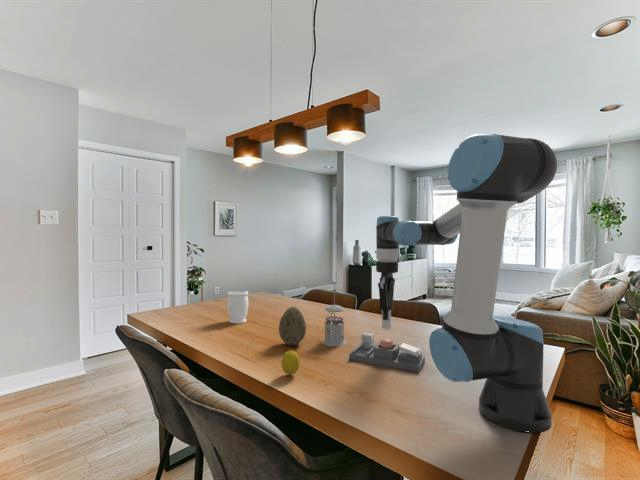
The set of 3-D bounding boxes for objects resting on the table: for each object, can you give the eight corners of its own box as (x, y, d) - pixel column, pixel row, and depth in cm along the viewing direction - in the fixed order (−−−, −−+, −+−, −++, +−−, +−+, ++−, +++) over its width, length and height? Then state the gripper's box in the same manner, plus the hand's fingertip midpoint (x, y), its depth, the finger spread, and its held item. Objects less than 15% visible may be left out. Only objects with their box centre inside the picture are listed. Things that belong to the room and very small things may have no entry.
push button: (391, 352, 111) (391, 343, 111) (378, 349, 113) (378, 341, 113) (394, 348, 115) (394, 339, 115) (382, 346, 117) (382, 337, 117)
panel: (419, 372, 104) (419, 356, 104) (349, 359, 115) (349, 345, 115) (424, 361, 113) (424, 347, 113) (359, 350, 124) (359, 337, 124)
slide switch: (370, 349, 118) (371, 335, 118) (361, 348, 120) (361, 334, 120) (373, 347, 121) (373, 333, 121) (364, 345, 123) (364, 332, 123)
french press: (326, 347, 128) (326, 283, 127) (318, 338, 139) (318, 279, 139) (349, 345, 130) (350, 282, 130) (340, 336, 142) (340, 278, 141)
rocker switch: (418, 357, 107) (419, 351, 107) (399, 349, 110) (400, 344, 110) (420, 352, 111) (421, 347, 111) (402, 346, 114) (403, 341, 114)
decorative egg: (311, 343, 132) (311, 306, 132) (294, 351, 123) (294, 311, 123) (290, 338, 138) (290, 303, 138) (273, 345, 129) (273, 307, 129)
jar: (225, 320, 168) (225, 291, 168) (246, 318, 173) (246, 289, 173) (229, 325, 159) (229, 294, 159) (250, 323, 163) (250, 292, 163)
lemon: (290, 370, 106) (290, 345, 106) (303, 375, 102) (303, 349, 102) (277, 376, 101) (277, 350, 101) (290, 381, 98) (290, 354, 98)
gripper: (382, 258, 121) (381, 322, 122) (370, 261, 110) (370, 331, 110) (402, 259, 118) (401, 325, 119) (392, 262, 106) (392, 335, 107)
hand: (386, 328), depth 115 cm, fingers closed
